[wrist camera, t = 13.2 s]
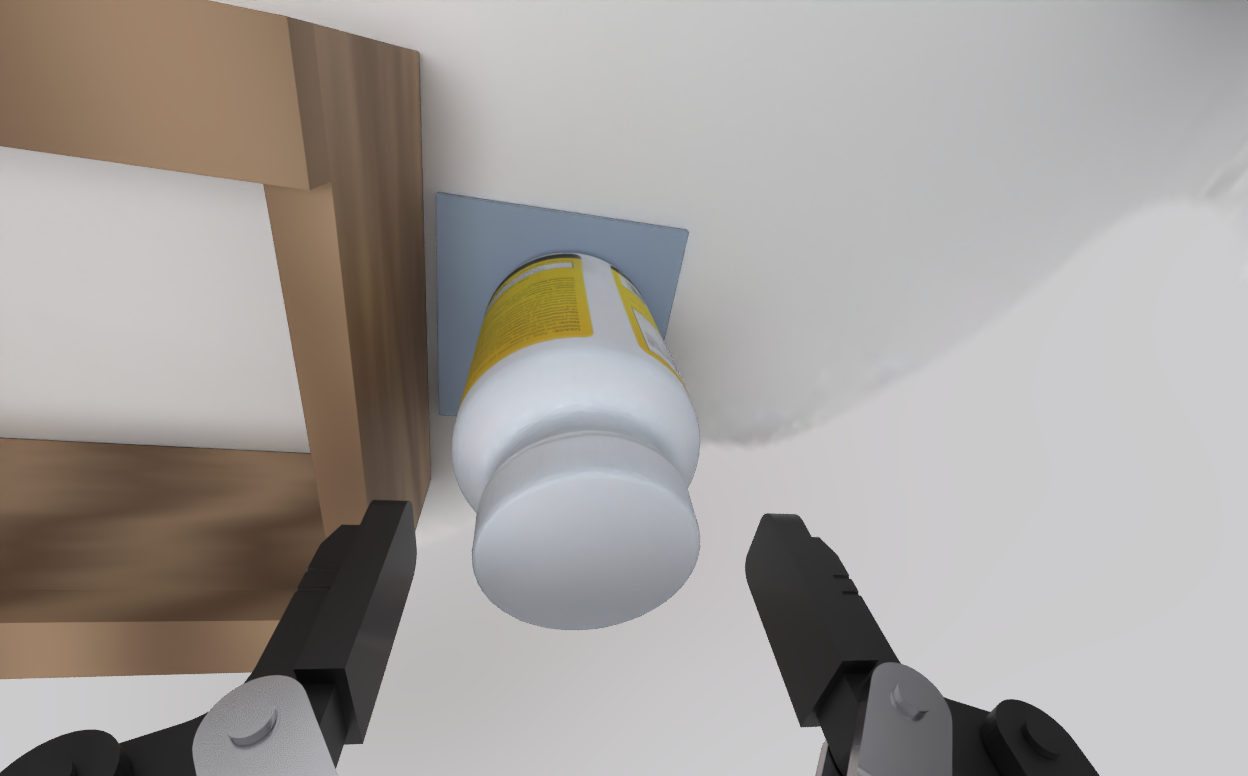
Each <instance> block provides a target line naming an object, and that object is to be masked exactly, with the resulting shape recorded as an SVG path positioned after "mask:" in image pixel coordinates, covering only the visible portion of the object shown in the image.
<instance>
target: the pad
mask: <svg viewBox="0 0 1248 776" xmlns="http://www.w3.org/2000/svg"><path fill="white" fill-rule="evenodd" d="M688 234H689V232H688V231H687V230H686V229H680V228H673V227H666V226H660V225H653V224H646V223H640V222H633V221H626V220H620V219H613V218H606V217H600V216H593V215H586V214H580V213H573V212H566V211H560V210H553V209H546V208H540V207H533V206H526V205H520V204H513V203H506V202H499V201H493V200H486V199H479V198H473V197H466V196H459V195H453V194H446V193H439V192H438V193H437V194H436V241H437V305H438V370H439V415H450V416H457V413H458V410H459V406H460V402H461V399H462V395H463V392H464V388H465V385H466V381H467V378H468V374H469V370H470V367H471V363H472V359H473V356H474V352H475V348H476V344H477V341H478V337H479V333H480V330H481V326H482V323H483V319H484V315H485V312H486V309H487V306H488V303H489V301H490V299H491V297H492V295H493V293H494V292H495V290H496V289H497V287H498V286H499V285H500V283H501V282H502V281H503V280H504V279H505V278H506V277H507V276H508V275H509V274H510V273H511V272H512V271H513V270H515V269H516V268H518V267H519V266H521V265H522V264H524V263H526V262H528V261H530V260H532V259H535V258H538V257H541V256H544V255H548V254H554V253H579V254H584V255H590V256H593V257H596V258H599V259H601V260H603V261H605V262H607V263H609V264H611V265H613V266H614V267H616V268H617V269H619V270H620V271H621V272H623V273H624V274H625V275H626V276H627V277H628V278H629V279H630V280H631V281H632V282H633V284H634V285H635V286H636V288H637V289H638V290H639V292H640V293H641V295H642V296H643V298H644V300H645V302H646V304H647V307H648V309H649V311H650V313H651V315H652V318H653V320H654V322H655V324H656V326H657V328H658V331H659V333H660V335H661V337H662V339H663V341H664V338H665V334H666V330H667V325H668V321H669V317H670V312H671V308H672V304H673V299H674V295H675V291H676V286H677V282H678V278H679V273H680V269H681V265H682V260H683V256H684V252H685V247H686V243H687V239H688Z"/></svg>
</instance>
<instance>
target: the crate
mask: <svg viewBox="0 0 1248 776" xmlns="http://www.w3.org/2000/svg"><path fill="white" fill-rule="evenodd" d="M0 146H4V147H11V148H18V149H25V150H32V151H39V152H46V153H53V154H60V155H67V156H74V157H81V158H88V159H95V160H102V161H109V162H116V163H123V164H130V165H136V166H143V167H150V168H157V169H164V170H171V171H178V172H185V173H192V174H199V175H206V176H213V177H220V178H227V179H234V180H241V181H248V182H255V183H262V184H264V190H265V196H266V201H267V207H268V213H269V218H270V224H271V230H272V235H273V241H274V247H275V252H276V258H277V264H278V269H279V275H280V281H281V286H282V292H283V298H284V304H285V309H286V315H287V321H288V326H289V332H290V338H291V343H292V349H293V355H294V360H295V366H296V372H297V377H298V383H299V389H300V395H301V400H302V406H303V412H304V417H305V423H306V429H307V434H308V440H309V446H310V451H311V454H306V453H287V452H267V451H247V450H227V449H207V448H187V447H167V446H147V445H127V444H107V443H87V442H67V441H47V440H27V439H7V438H0V679H22V678H56V677H57V678H58V677H96V676H133V675H170V674H206V673H241V672H242V673H243V672H253V670H254V668H255V667H256V665H257V663H258V661H259V659H260V657H261V655H262V653H263V652H264V650H265V648H266V646H267V644H268V642H269V640H270V638H271V636H272V635H273V633H274V631H275V629H276V627H277V625H278V623H279V621H280V619H281V617H282V616H283V614H284V612H285V610H286V608H287V606H288V604H289V602H290V600H291V598H292V597H293V595H294V593H295V592H297V589H298V585H299V583H300V581H301V580H302V578H303V576H304V574H305V572H307V571H308V566H309V564H310V562H311V561H312V559H313V557H314V555H315V553H316V551H317V549H318V547H319V545H320V544H321V543H322V542H323V541H324V540H325V539H326V538H328V537H329V536H330V535H331V534H332V533H333V532H334V531H335V530H336V529H337V528H338V527H340V526H341V525H360V523H361V521H362V519H363V517H364V515H365V512H366V510H367V508H368V506H369V504H370V503H371V501H372V500H399V501H411V503H412V506H413V516H414V527H415V530H416V527H417V524H418V520H419V517H420V514H421V510H422V507H423V504H424V500H425V497H426V494H427V490H428V487H429V484H430V480H431V471H430V435H429V399H428V363H427V327H426V291H425V255H424V218H423V182H422V146H421V110H420V74H419V52H418V51H414V50H410V49H406V48H403V47H399V46H395V45H391V44H388V43H384V42H380V41H377V40H373V39H369V38H365V37H362V36H358V35H354V34H350V33H347V32H343V31H339V30H335V29H332V28H328V27H324V26H320V25H317V24H313V23H309V22H305V21H302V20H298V19H294V18H291V17H287V16H282V15H277V14H272V13H267V12H262V11H257V10H253V9H248V8H243V7H238V6H233V5H228V4H223V3H218V2H213V1H208V0H0Z"/></svg>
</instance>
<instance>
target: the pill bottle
mask: <svg viewBox="0 0 1248 776" xmlns="http://www.w3.org/2000/svg"><path fill="white" fill-rule="evenodd" d="M699 449H700V434H699V425H698V421H697V416H696V413H695V410H694V407H693V404H692V402H691V399H690V397H689V395H688V392H687V390H686V388H685V386H684V384H683V382H682V379H681V377H680V375H679V373H678V371H677V369H676V367H675V364H674V362H673V360H672V358H671V356H670V354H669V352H668V350H667V347H666V345H665V343H664V341H663V339H662V337H661V335H660V333H659V331H658V328H657V326H656V324H655V322H654V320H653V318H652V315H651V313H650V311H649V309H648V307H647V304H646V302H645V300H644V298H643V296H642V295H641V293H640V292H639V290H638V289H637V288H636V286H635V285H634V284H633V282H632V281H631V280H630V279H629V278H628V277H627V276H626V275H625V274H624V273H623V272H621V271H620V270H619V269H617V268H616V267H614V266H613V265H611V264H609V263H607V262H605V261H603V260H601V259H599V258H596V257H593V256H590V255H584V254H579V253H554V254H548V255H544V256H541V257H538V258H535V259H532V260H530V261H528V262H526V263H524V264H522V265H521V266H519V267H518V268H516V269H515V270H513V271H512V272H511V273H510V274H509V275H508V276H507V277H506V278H505V279H504V280H503V281H502V282H501V283H500V285H499V286H498V287H497V289H496V290H495V292H494V293H493V295H492V297H491V299H490V301H489V303H488V306H487V309H486V312H485V315H484V319H483V323H482V326H481V330H480V333H479V337H478V341H477V344H476V348H475V352H474V356H473V359H472V363H471V367H470V370H469V374H468V378H467V381H466V385H465V388H464V392H463V395H462V399H461V402H460V406H459V410H458V413H457V417H456V421H455V425H454V430H453V437H452V461H453V468H454V472H455V476H456V479H457V482H458V485H459V487H460V489H461V491H462V493H463V495H464V497H465V499H466V500H467V501H468V503H469V504H470V506H471V507H472V508H473V509H474V510H475V512H476V513H477V516H476V525H475V534H474V542H473V548H472V563H473V570H474V573H475V576H476V579H477V582H478V584H479V586H480V588H481V589H482V591H483V592H484V594H485V595H486V596H487V597H488V599H489V600H490V601H491V602H492V603H493V604H495V605H496V606H497V607H498V608H500V609H501V610H502V611H504V612H506V613H508V614H509V615H511V616H513V617H515V618H517V619H519V620H520V621H524V622H527V623H530V624H533V625H537V626H541V627H545V628H551V629H561V630H587V629H598V628H604V627H608V626H612V625H616V624H620V623H623V622H626V621H629V620H631V619H634V618H637V617H640V616H642V615H644V614H645V613H647V612H649V611H651V610H653V609H655V608H656V607H658V606H660V605H661V604H663V603H664V602H666V601H667V600H668V599H669V598H671V597H672V596H673V595H674V594H675V593H676V592H677V591H678V590H679V589H680V588H681V587H682V586H683V585H684V583H685V582H686V580H687V579H688V578H689V576H690V575H691V573H692V571H693V569H694V567H695V564H696V561H697V559H698V555H699V549H700V532H699V526H698V523H697V519H696V516H695V513H694V510H693V506H692V503H691V500H690V496H689V492H688V487H689V485H690V483H691V481H692V479H693V476H694V473H695V470H696V467H697V462H698V457H699Z"/></svg>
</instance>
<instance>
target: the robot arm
mask: <svg viewBox="0 0 1248 776" xmlns="http://www.w3.org/2000/svg"><path fill="white" fill-rule="evenodd" d="M416 555H417V549H416V537H415V527H414V516H413V506H412V503H411V501H399V500H372V501H371V503H370V504H369V506H368V508H367V510H366V512H365V515H364V517H363V519H362V521H361V523H360V525H341V526H340V527H338V528H337V529H336V530H335V531H334V532H333V533H332V534H331V535H330V536H329V537H328V538H326V539H325V540H324V541H323V542H322V543H321V544H320V545H319V547H318V549H317V551H316V553H315V555H314V557H313V559H312V561H311V562H310V564H309V566H308V571H307V572H305V574H304V576H303V578H302V580H301V581H300V583H299V585H298V589H297V592H295V593H294V595H293V597H292V598H291V600H290V602H289V604H288V606H287V608H286V610H285V612H284V614H283V616H282V617H281V619H280V621H279V623H278V625H277V627H276V629H275V631H274V633H273V635H272V636H271V638H270V640H269V642H268V644H267V646H266V648H265V650H264V652H263V653H262V655H261V657H260V659H259V661H258V663H257V665H256V667H255V668H254V670H253V672H252V673H251V675H250V676H249V677H248V679H247V680H246V681H245V683H244V684H242V685H241V686H239V687H237V688H236V689H234V690H232V691H231V692H230V693H228V694H227V695H226V696H224V697H223V698H222V699H221V700H220V701H219V702H217V704H215V705H214V707H213V708H212V709H211V710H210V711H209V712H207V713H206V714H204V715H201V716H199V717H197V718H195V719H193V720H190V721H187V722H185V723H182V724H179V725H176V726H172V727H169V728H166V729H163V730H160V731H157V732H154V733H151V734H147V735H144V736H141V737H138V738H135V739H132V740H129V741H125V742H122V743H118V742H117V740H116V739H115V738H114V737H113V736H112V735H111V734H108V733H106V732H104V731H100V730H82V731H75V732H71V733H68V734H65V735H61V736H59V737H56V738H54V739H52V740H49V741H47V742H45V743H43V744H41V745H39V746H37V747H35V748H34V749H32V750H31V751H29V752H27V753H26V754H24V755H23V756H21V757H20V758H18V759H17V760H16V761H14V762H13V763H11V764H10V765H9V766H8V767H7V768H5V769H4V770H3V771H2V772H1V773H0V776H338V774H337V772H336V766H337V763H338V761H339V757H340V754H341V751H342V748H343V745H344V744H363V741H364V738H365V735H366V731H367V727H368V725H369V722H370V718H371V715H372V712H373V708H374V705H375V701H376V699H377V695H378V692H379V689H380V685H381V682H382V679H383V676H384V672H385V669H386V666H387V662H388V659H389V656H390V652H391V649H392V646H393V643H394V639H395V636H396V633H397V629H398V626H399V622H400V619H401V616H402V613H403V609H404V606H405V603H406V600H407V596H408V593H409V590H410V586H411V583H412V580H413V576H414V571H415V565H416ZM745 571H746V579H747V582H748V585H749V588H750V591H751V594H752V596H753V599H754V602H755V604H756V607H757V610H758V612H759V615H760V618H761V621H762V623H763V626H764V629H765V631H766V634H767V637H768V640H769V642H770V645H771V647H772V650H773V653H774V656H775V658H776V661H777V664H778V667H779V669H780V672H781V675H782V677H783V680H784V683H785V686H786V688H787V691H788V694H789V696H790V699H791V702H792V704H793V707H794V710H795V713H796V715H797V718H798V721H799V723H800V726H801V727H817V726H821V728H822V730H823V733H824V736H825V738H826V740H825V742H824V743H823V746H822V748H821V753H820V758H819V762H818V766H817V771H816V776H1099V774H1098V773H1097V771H1095V769H1094V767H1093V766H1092V765H1091V763H1090V762H1089V761H1088V759H1087V758H1086V756H1085V755H1084V754H1083V752H1082V751H1081V749H1080V748H1079V747H1078V746H1077V744H1076V743H1075V741H1074V740H1073V739H1072V738H1071V736H1070V735H1069V734H1068V733H1067V732H1066V731H1065V729H1063V727H1062V726H1060V725H1059V724H1058V723H1057V722H1056V721H1055V720H1054V719H1053V718H1051V717H1050V716H1049V715H1048V714H1046V713H1045V712H1043V711H1042V710H1040V709H1038V708H1036V707H1035V706H1033V705H1031V704H1028V703H1026V702H1023V701H1019V700H1013V699H1010V700H1004V701H1002V702H1001V703H999V705H997V706H996V708H994V709H993V710H992V711H991V712H988V711H985V710H981V709H978V708H975V707H972V706H969V705H966V704H962V703H960V702H956V701H953V700H950V699H947V698H944V697H943V696H942V695H941V693H940V692H939V690H938V689H937V688H936V687H935V686H934V685H933V684H932V683H931V682H930V681H929V680H928V679H927V678H926V677H924V676H923V675H922V674H920V673H919V672H917V671H916V670H914V669H912V668H910V667H908V666H906V665H903V664H901V663H900V662H899V660H898V659H897V657H896V655H895V654H894V652H893V650H892V649H891V647H890V645H889V643H888V641H887V640H886V638H885V636H884V635H883V633H882V631H881V630H880V628H879V626H878V624H877V623H876V621H875V619H874V617H873V616H872V614H871V612H870V611H869V609H868V607H867V605H866V604H865V602H864V600H863V598H862V597H861V596H859V595H858V590H857V588H856V586H855V585H854V583H853V581H852V580H851V579H849V574H848V573H847V571H846V569H845V567H844V566H843V564H842V562H841V561H840V559H839V557H838V556H837V554H836V553H835V552H834V551H833V550H832V549H831V548H829V547H828V546H827V545H826V544H825V543H824V542H823V541H822V540H821V539H820V538H819V537H811V535H810V533H809V531H808V530H807V528H806V526H805V524H804V522H803V520H802V519H801V518H800V517H799V516H798V515H795V514H765V515H763V517H762V518H761V521H760V523H759V526H758V528H757V531H756V534H755V536H754V539H753V541H752V544H751V546H750V549H749V552H748V554H747V557H746V563H745Z"/></svg>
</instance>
